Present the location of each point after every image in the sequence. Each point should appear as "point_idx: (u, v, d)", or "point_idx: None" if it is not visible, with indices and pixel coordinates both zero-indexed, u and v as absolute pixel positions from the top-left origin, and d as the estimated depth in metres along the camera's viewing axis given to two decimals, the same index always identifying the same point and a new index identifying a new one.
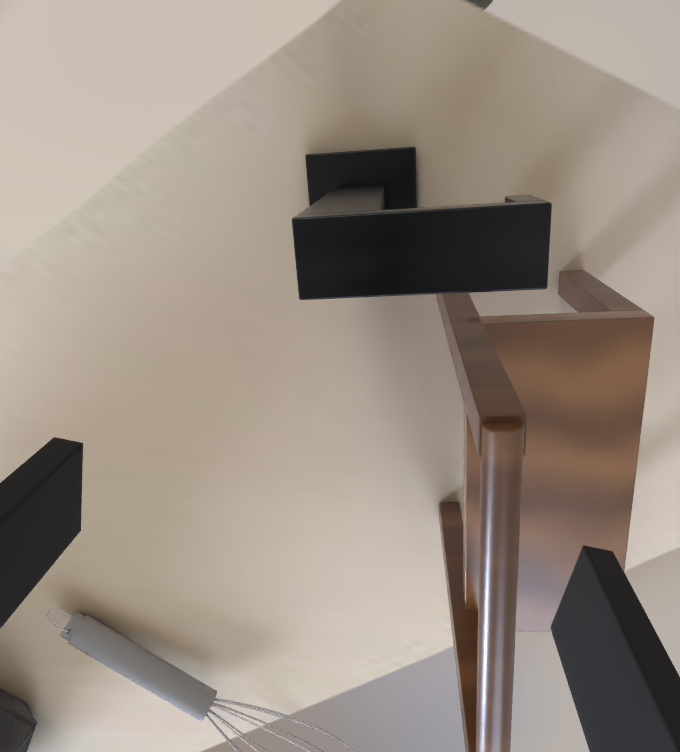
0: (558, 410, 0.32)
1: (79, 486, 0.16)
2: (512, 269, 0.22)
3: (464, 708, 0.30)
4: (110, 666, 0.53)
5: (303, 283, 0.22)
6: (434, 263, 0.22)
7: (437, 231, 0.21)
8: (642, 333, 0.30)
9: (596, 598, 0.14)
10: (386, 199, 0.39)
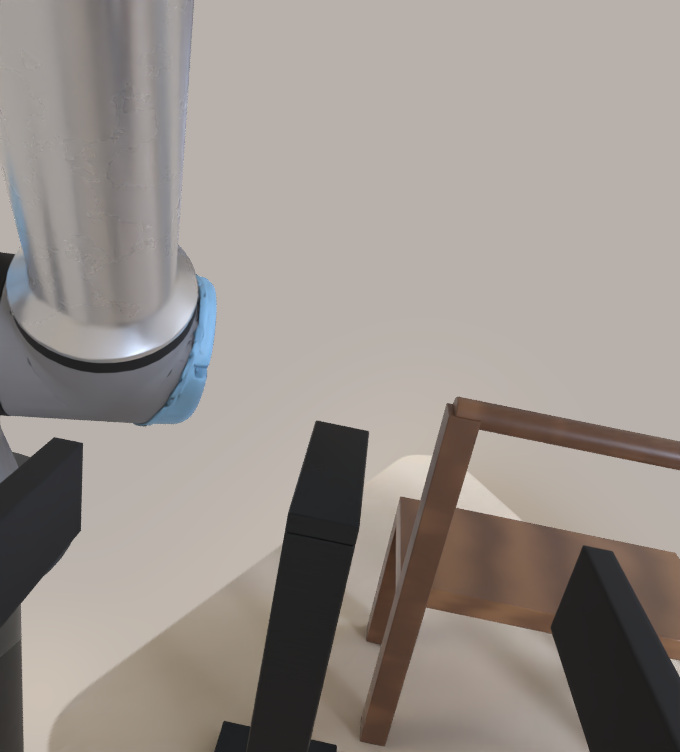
0: (475, 547, 0.39)
1: (80, 487, 0.16)
2: (353, 438, 0.32)
3: None
4: None
5: (344, 521, 0.25)
6: (342, 461, 0.30)
7: (321, 456, 0.30)
8: (411, 502, 0.42)
9: (596, 598, 0.14)
10: None
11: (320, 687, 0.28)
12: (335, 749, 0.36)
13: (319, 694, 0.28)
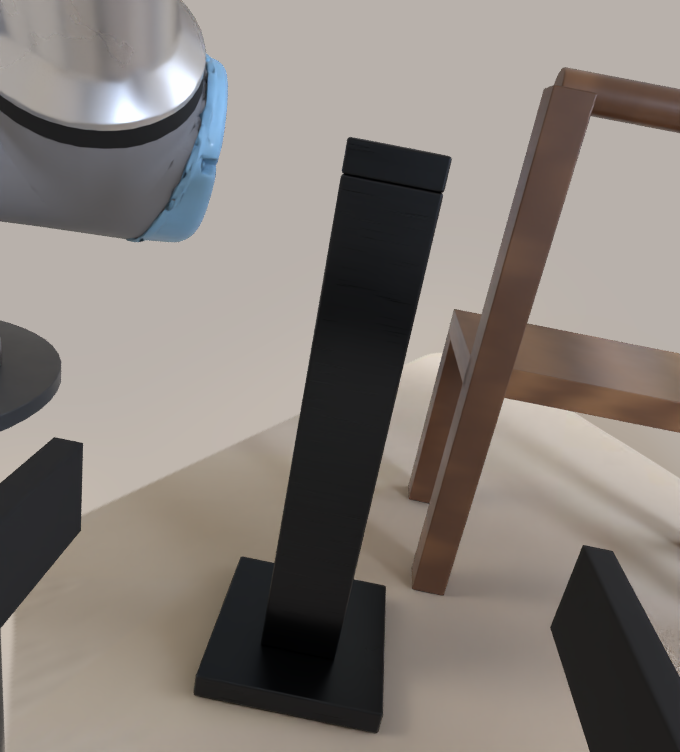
0: (555, 348, 0.31)
1: (79, 486, 0.16)
2: None
3: None
4: None
5: (429, 153, 0.17)
6: None
7: None
8: (469, 313, 0.34)
9: (596, 598, 0.14)
10: None
11: (383, 441, 0.20)
12: (384, 590, 0.28)
13: (381, 452, 0.20)
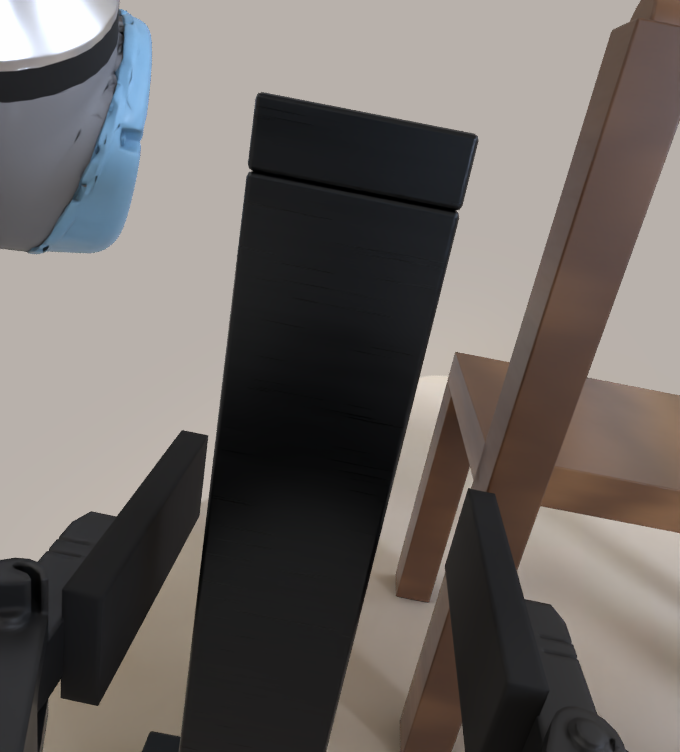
0: (599, 415, 0.22)
1: (202, 475, 0.17)
2: None
3: None
4: None
5: (431, 127, 0.08)
6: None
7: None
8: (475, 359, 0.25)
9: (471, 531, 0.15)
10: None
11: (346, 652, 0.11)
12: None
13: (343, 669, 0.11)
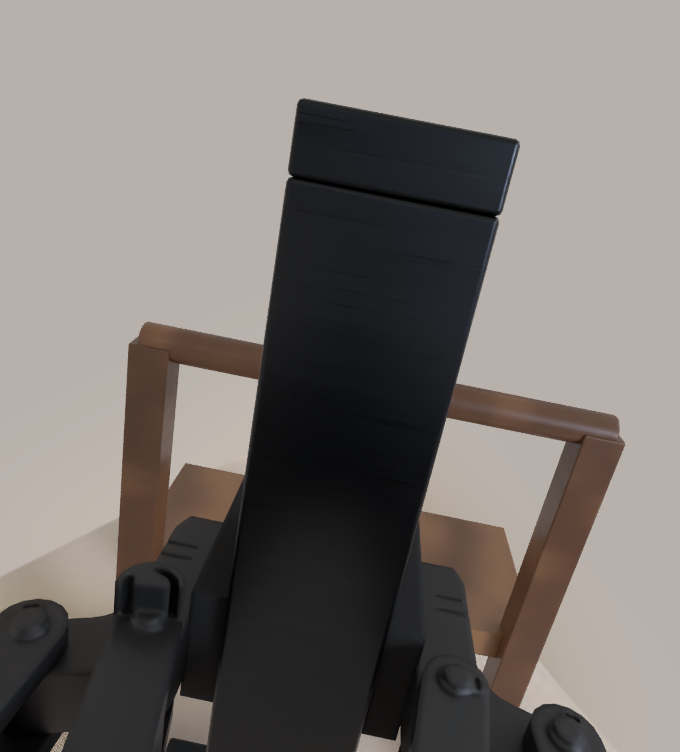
0: None
1: None
2: None
3: (552, 522, 0.25)
4: None
5: None
6: None
7: None
8: (196, 469, 0.36)
9: None
10: None
11: (376, 660, 0.11)
12: None
13: (372, 678, 0.11)
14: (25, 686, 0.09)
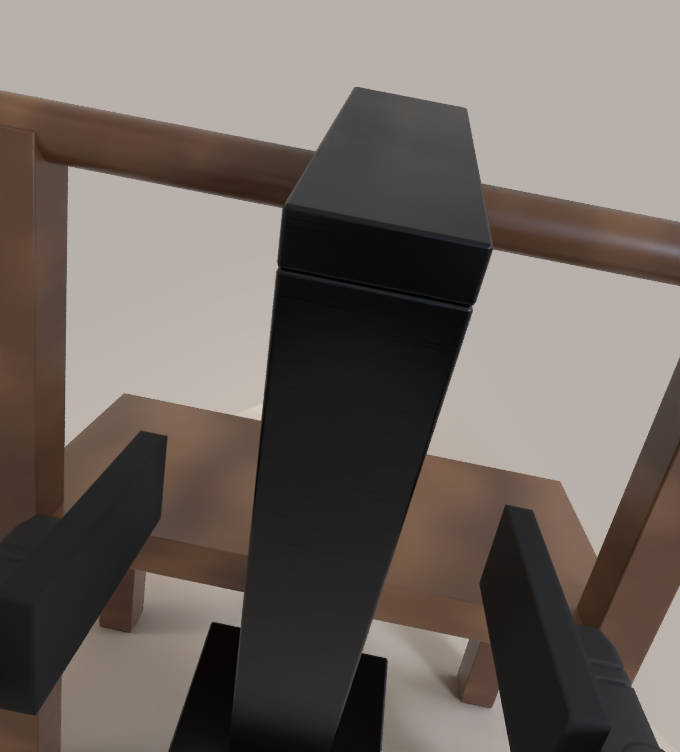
0: (201, 461, 0.23)
1: (162, 477, 0.17)
2: (438, 112, 0.15)
3: None
4: None
5: (449, 231, 0.09)
6: (421, 138, 0.12)
7: (369, 126, 0.13)
8: (137, 400, 0.26)
9: (511, 550, 0.15)
10: None
11: (369, 617, 0.14)
12: (385, 665, 0.23)
13: (367, 629, 0.14)
14: None
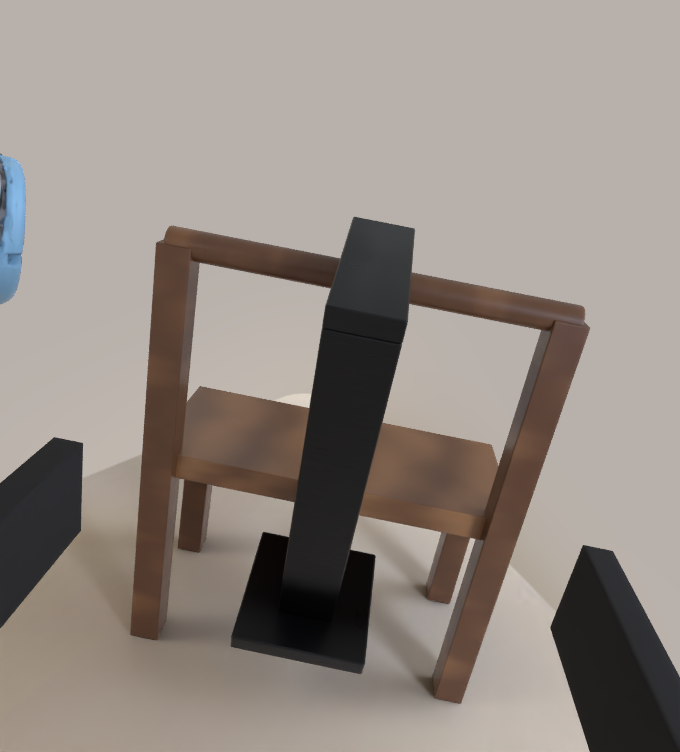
0: (257, 428, 0.36)
1: (80, 486, 0.16)
2: (397, 234, 0.28)
3: (528, 404, 0.28)
4: None
5: (390, 315, 0.22)
6: (386, 257, 0.26)
7: (360, 251, 0.26)
8: (209, 391, 0.40)
9: (596, 598, 0.14)
10: None
11: (361, 496, 0.27)
12: (374, 558, 0.36)
13: (360, 503, 0.27)
14: None
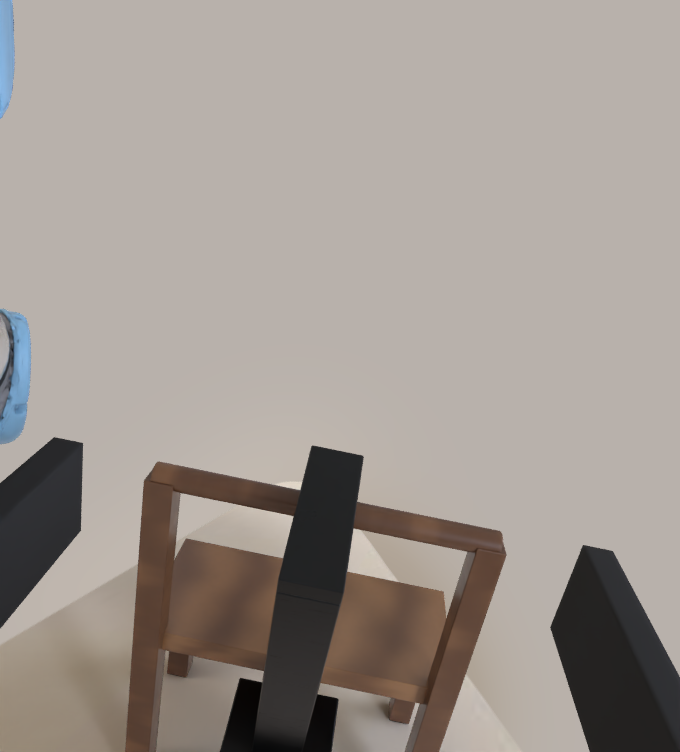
0: (235, 590, 0.41)
1: (79, 486, 0.16)
2: (347, 467, 0.33)
3: (458, 608, 0.33)
4: None
5: (330, 585, 0.27)
6: (334, 503, 0.31)
7: (313, 497, 0.31)
8: (194, 544, 0.45)
9: (596, 598, 0.14)
10: None
11: (315, 693, 0.32)
12: (337, 702, 0.42)
13: (315, 697, 0.32)
14: None
